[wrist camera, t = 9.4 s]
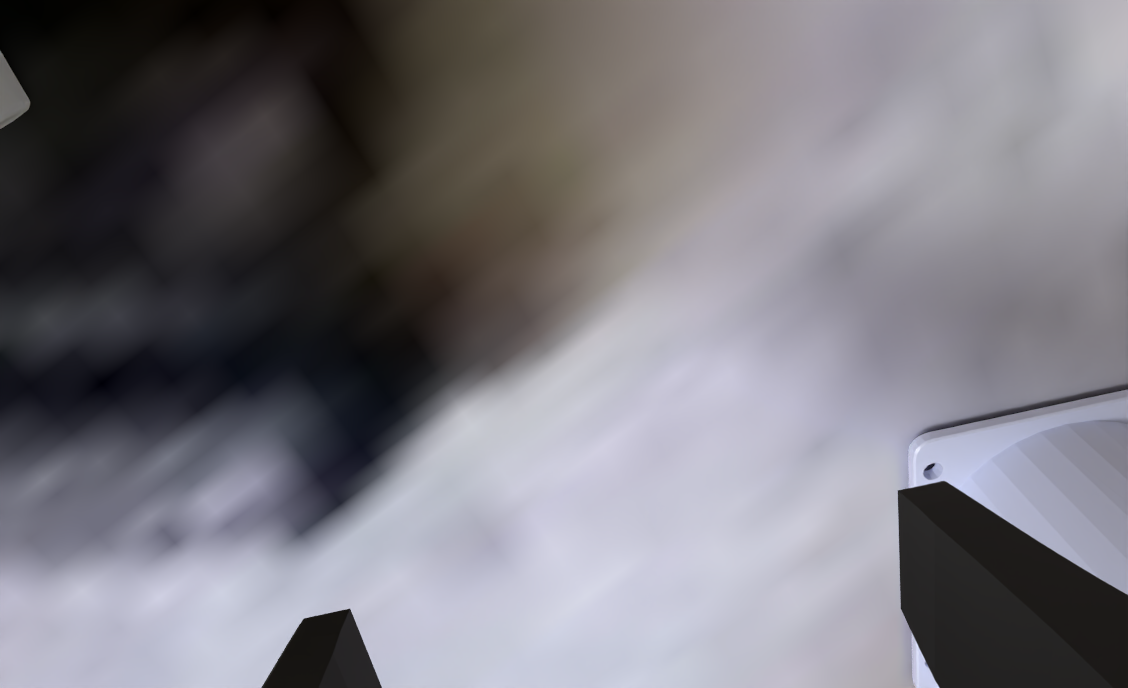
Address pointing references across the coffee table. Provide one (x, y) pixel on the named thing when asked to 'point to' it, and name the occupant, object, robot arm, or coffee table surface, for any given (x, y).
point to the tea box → (10, 95)
